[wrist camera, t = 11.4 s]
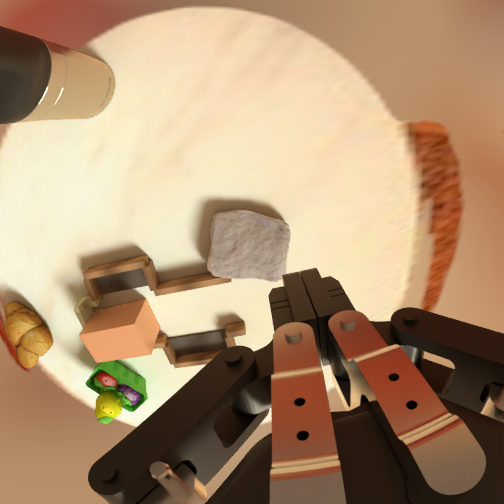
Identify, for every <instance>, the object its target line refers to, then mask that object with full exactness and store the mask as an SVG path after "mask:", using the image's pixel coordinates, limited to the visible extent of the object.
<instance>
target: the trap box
mask: <svg viewBox="0 0 504 504" xmlns="http://www.w3.org/2000/svg"><path fill="white" fill-rule="evenodd" d="M84 277H85V279H84V280H83V281H84V283H85V285H86V288H87V290H88V292H89V294H90V296H87V297H86V298H85V299H84V301H83V302H82V303H81V304H82V306H83V308H90V307H96V306H98V305H99V303H100V302H101V300H102V299H103V298H102V296H101V295H102V294H106V293H111V292H116V291H121V290H127V289H132V288H137V287H142V286H148V285H149V288H150V291H154V293H155V295H156V296H159V295H164V294H170V293H175V292H181V291H186V290H191V289H196V288H202V287H207V286H212V285H217V284H222V283H228V282H231V278H222V277H217V276H214V275H213V274H211V273H205V274H200V275H195V276H189V277H184V278H179V279H174V280H169V281H164V282H160V281H159V278H158V275H157V273H156V270H155V267H154V264H153V261H152V260H149V258H148V256H147V255H143V256H139V257H134V258H130V259H125V260H121V261H117V262H112V263H108V264H103V265H99V266H95V267H91V268H89V269H88V270H87V271H86V272H85V273H84ZM241 335H246V329H245V323H244V321H242V322H236V323H231V324H227V327H226V329H225V330H219V331H213V332H207V333H200V334H194V335H188V336H181V337H174V338H167V335H166V334H163V335H158V336H157V339H156V342H155V345H154V348H153V349H155V348H163V349H164V351H165V354H166V356H167V358H168V360H169V362H170V364H173V365H174V367H175V368H179V367H188V366H195V365H203V364H208V363H209V362H210V361H211V360H212V359H213V358H214V357H215V356H216V355H217V354H218V353H220V352H221V351H222V350H224V349H226V348H229V347H232V346H236V343H235V340H234V337H236V336H241Z"/></svg>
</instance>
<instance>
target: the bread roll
mask: <svg viewBox="0 0 504 504" xmlns="http://www.w3.org/2000/svg"><path fill="white" fill-rule="evenodd" d="M5 316H6V318H7V319H6V320H5V323H4V324H5V332H6V334H7V337H8V339H9V341H10V342H11V343H12V344H14V346H15V347H16V353H17V358H18V361H19V363H20V364H21V365H22V366H23V367H25V368H31V367H33V366H34V365H36V363H37V361H38V359H39V356H43V355H44V354H45V353H46V352H47V351H48V350H49V349H50V348H51V346H52V344H53V338H52V334H51V332H50V331H49V329H47V328H46V327H45V326H44V325H43V322H42V320H41V319H40V318H39V317H38V315H37V314H36V313H35V312H33V311H31V310H29V309H26V308H25V307H24V306H23V305H21V304H19V303H16V302H11V303H8V304H7V306H6V308H5Z"/></svg>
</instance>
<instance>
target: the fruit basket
mask: <svg viewBox="0 0 504 504" xmlns="http://www.w3.org/2000/svg"><path fill="white" fill-rule="evenodd" d="M86 385H87V386H88V387H89V388H91V389H92V390H94V391H95V392H97V393H98V394H100V395H99V396H98V398H97V400H96V408H95V415H96V417H97V418H98V419H97V420H98V421H99V422H102V423H103V424H108V423H109V422H110V421H112V420H114V419H113V418H115V417H117V416H118V415H119V414H120V413H121V411H122V408H124V409H126V410H128V411H130V412H133V411H135V410H136V409H137V408H138V407H139V406H141V405H142V404H143V403H144V402H145V401H146V400H147V399H148V397H147V393H146V380H145V379H144V378H142V377H141V376H138V375H137V374H135V373H134V372H132V371H131V370H129V369H126V368H125V367H124V366H123V365H121V364H120V363H117V362H116V361H115V360H113V361H106V362H102V363H101V364H100V365H99V366H98V367H97V368H96V369H95V370H94V372H93V373H92V375H91V376H90V378H89V379H88V380H87V382H86Z"/></svg>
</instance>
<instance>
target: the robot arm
mask: <svg viewBox="0 0 504 504" xmlns="http://www.w3.org/2000/svg"><path fill="white" fill-rule="evenodd" d="M114 88H115V78H114V74H113V72H112V69H111V68H110V67H109V66H108V65H107V64H106V63H105V62H103V61H100V60H98V59H95V58H93V57H91V56H88V55H86V54H83V53H80V52H78V51H75V50H72V49H69V48H67V47H64V46H61V45H58V44H55V43H52V42H49V41H46V40H43V39H40V38H37V37H33V36H30V35H27V34H23V33H21V32H17V31H14V30H11V29H8V28H4V27H1V26H0V124H8V123H17V122H29V121H40V120H58V119H86V118H90V117H93V116H95V115H97V114H99V113H100V112H101V111H103V110H104V108H105V107H106V106H107V105H108V103H109V102H110V100H111V98H112V96H113V93H114ZM282 278H283V284H284V286H283V287H278V288H273V289H272V290H271V292H270V294H269V302H270V308H271V313H272V319H273V325H274V331H275V332H274V335H273V339H272V341H271V342H270V343H269V344H268V345H267V346H265V347H263V348H261V349H259V350H257V351H254V352H253V350H252V349H250V348H248V347H245V346H232V347H229V348H226V349H224V350H222V351H221V352H220V353H218V354H217V355H216V356H215V357H214V358H213V359H212V360H211V361H210V362H209V363H208V364H207V365H206V366H205V367H203V368H202V369H201V370H200V371H199V372H198V373H197V374H196V375H195V376H194V377H193V378H192V379H190V380H189V381H188V382H187V383H186V384H185V385H184V386H183V387H182V388H181V389H180V390H178V391H177V392H176V393H175V394H174V395H173V396H172V397H171V398H170V399H168V400H167V401H166V402H165V403H164V404H163V405H162V406H161V407H159V408H158V409H157V410H156V411H155V412H154V413H153V414H152V415H150V416H149V417H148V418H147V419H146V420H145V421H144V422H142V423H141V424H140V425H139V426H138V427H137V428H135V429H134V430H133V431H132V432H131V433H130V434H128V435H127V436H126V437H125V438H124V439H123V440H121V441H120V442H119V443H118V444H117V445H115V446H114V447H113V448H112V449H111V450H109V451H108V452H107V453H106V454H105V455H103V456H102V457H101V458H100V459H99V460H98V461H96V462H95V463H94V464H93V466H92V467H91V469H90V471H89V475H88V481H89V484H90V486H91V488H92V489H93V490H94V491H95V492H97V493H98V494H99V495H100V496H102V497H103V498H104V499H105V500H107V502H108V503H109V504H504V334H503V333H500V332H496V331H493V330H489V329H486V328H482V327H479V326H475V325H472V324H468V323H465V322H462V321H459V320H455V319H452V318H448V317H445V316H442V315H438V314H435V313H431V312H428V311H425V310H421V309H418V308H411V307H409V308H402V309H399V310H397V311H396V312H394V313H393V315H392V317H391V321H383V322H374V321H369V319H368V318H367V317H366V316H365V315H364V314H363V313H361V312H359V311H356V310H355V308H354V307H353V305H352V303H351V301H350V300H349V298H348V296H347V295H346V293H345V291H344V289H343V288H342V286H341V284H340V283H339V281H338V280H336V279H334V278H333V277H331V276H329V277H325V278H321V276H320V274H319V272H318V270H317V268H313V269H308V270H304V271H300V274H299V272H294V273H290V274H285V275H282ZM424 351H426V352H428V353H431V354H434V355H437V356H440V357H443V358H446V359H449V360H450V361H452V362H453V364H454V365H455V369H452V368H449V367H446V366H444V365H441V364H438V363H435V362H432V361H429V360H427V359H424V358H423V356H424ZM321 361H322V364H323V366H325V365H330V366H331V369H332V379H333V382H334V384H335V387H336V389H337V391H338V393H339V395H340V397H341V400H342V402H343V404H344V406H345V409H346V411H341V412H330V407H329V401H328V397H327V391H326V385H325V380H324V375H323V370H322V367H321ZM271 407H272V433H270V434H269V435H267V436H265V437H264V438H262V439H261V440H260V441H259V442H257V443H256V444H255V445H254V446H253V447H252V448H251V449H250V450H249V452H248V453H247V454H246V455H245V457H244V458H243V459H242V460H241V462H240V463H239V464H238V465H237V467H236V468H235V469H234V470H233V471H232V473H231V474H230V475H229V476H228V478H227V479H226V480H225V481H224V482H223V483H222V485H221V486H220V487H219V488H218V489H217V490H216V492H215V493H214V494H213V495H212V496H211V497H210V498H209V500H208V501H207V502H206V499H207V491H206V488H205V487H204V486H205V485H206V484H207V483H208V482H209V481H210V480H211V479H212V478H213V477H214V476H215V475H216V474H217V473H218V472H219V470H220V469H221V468H222V467H223V466H224V465H225V464H226V463H227V462H228V461H229V459H230V458H231V457H232V456H233V455H234V454H235V453H236V452H237V450H238V449H239V448H240V447H241V446H242V445H243V444H244V442H245V441H246V440H247V439H248V437H250V435H251V434H252V433H253V432H254V431H255V429H256V428H257V427H258V426H259V425H260V423H261V422H262V421H263V420H264V418H265V417H266V416H267V414H268V412H269V408H271ZM205 502H206V503H205Z"/></svg>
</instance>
